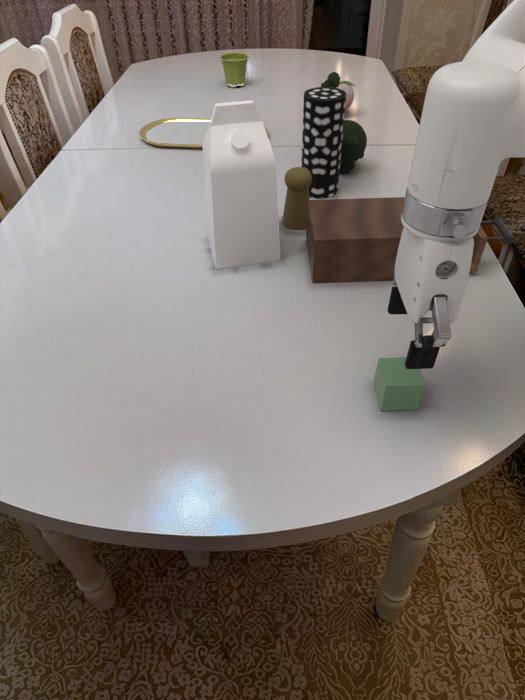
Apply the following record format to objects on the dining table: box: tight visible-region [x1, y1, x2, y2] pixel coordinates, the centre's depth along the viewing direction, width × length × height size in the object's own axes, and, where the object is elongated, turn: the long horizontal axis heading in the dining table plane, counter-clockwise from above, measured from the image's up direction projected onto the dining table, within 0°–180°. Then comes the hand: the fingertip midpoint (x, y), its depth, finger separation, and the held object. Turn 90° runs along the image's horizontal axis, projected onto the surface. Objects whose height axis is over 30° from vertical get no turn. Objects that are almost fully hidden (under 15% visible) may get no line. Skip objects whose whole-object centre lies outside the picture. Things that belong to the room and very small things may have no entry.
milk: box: [202, 99, 281, 270], centre depth 86 cm, size 12×12×26 cm
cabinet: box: [305, 196, 405, 284], centre depth 88 cm, size 18×14×9 cm
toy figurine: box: [320, 71, 368, 174], centre depth 116 cm, size 9×19×25 cm
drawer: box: [469, 217, 516, 273], centre depth 88 cm, size 23×12×7 cm, turn 91°
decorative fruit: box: [337, 80, 356, 112], centre depth 141 cm, size 9×8×10 cm
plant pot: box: [219, 52, 250, 89], centre depth 164 cm, size 9×9×9 cm
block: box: [373, 356, 426, 412], centre depth 66 cm, size 5×5×5 cm
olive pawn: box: [281, 166, 312, 231], centre depth 97 cm, size 6×6×11 cm
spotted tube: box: [300, 86, 346, 199], centre depth 104 cm, size 8×8×20 cm
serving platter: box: [138, 116, 269, 149], centre depth 134 cm, size 19×35×2 cm, turn 82°
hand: (408, 338), depth 60 cm, fingers open, 9 cm apart
